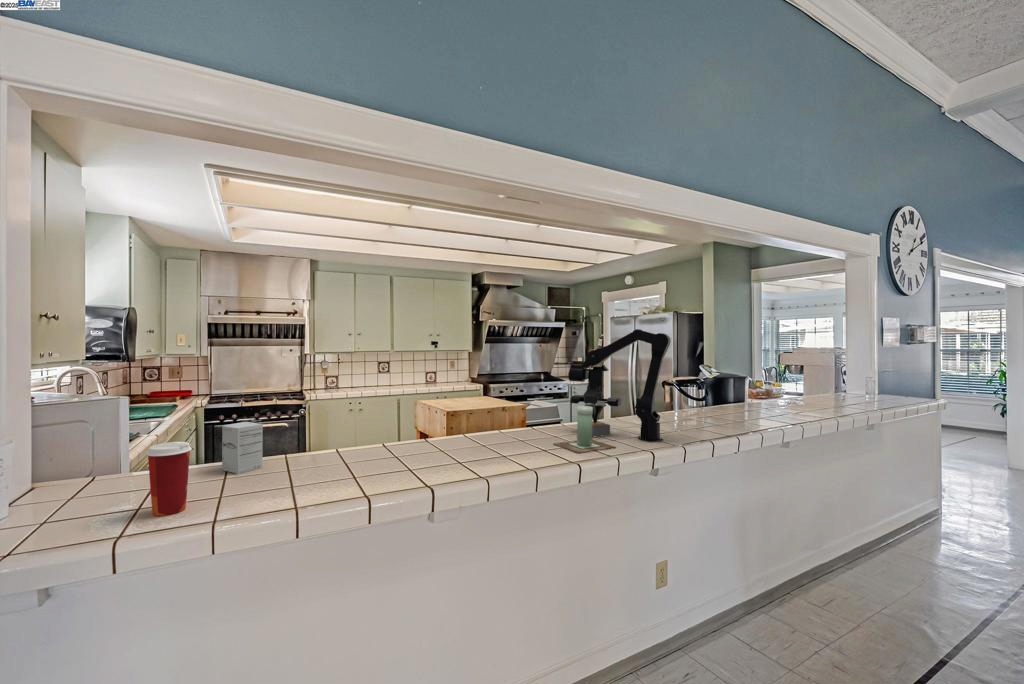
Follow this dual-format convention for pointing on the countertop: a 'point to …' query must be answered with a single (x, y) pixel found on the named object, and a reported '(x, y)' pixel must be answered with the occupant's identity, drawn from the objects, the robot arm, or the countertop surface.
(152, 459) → the paper cup
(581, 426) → the green capped bottle
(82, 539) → the countertop surface
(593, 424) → the button
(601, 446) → the picture board
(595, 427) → the button box
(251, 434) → the supplement box
